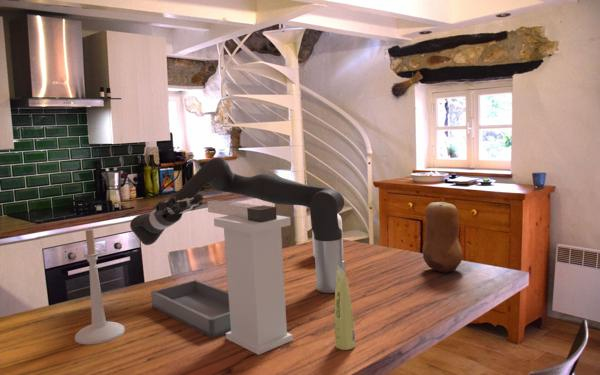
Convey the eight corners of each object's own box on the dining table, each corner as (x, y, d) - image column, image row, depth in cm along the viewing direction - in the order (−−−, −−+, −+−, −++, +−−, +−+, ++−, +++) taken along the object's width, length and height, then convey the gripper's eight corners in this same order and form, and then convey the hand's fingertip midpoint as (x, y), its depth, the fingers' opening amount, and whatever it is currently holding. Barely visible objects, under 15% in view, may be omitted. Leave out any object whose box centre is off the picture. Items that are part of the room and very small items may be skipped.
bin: (152, 307, 158) (151, 291, 158) (197, 294, 169) (195, 279, 168) (211, 338, 132) (210, 320, 131) (260, 320, 143) (259, 303, 142)
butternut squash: (466, 268, 182) (466, 200, 179) (456, 278, 171) (455, 206, 168) (429, 264, 190) (428, 198, 187) (417, 273, 178) (415, 204, 175)
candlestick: (112, 321, 148) (102, 221, 144) (132, 332, 138) (122, 226, 135) (67, 335, 139) (55, 229, 135) (86, 348, 130) (73, 235, 126)
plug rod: (205, 212, 138) (204, 201, 137) (220, 209, 141) (219, 199, 141) (260, 222, 119) (259, 210, 119) (276, 219, 122) (276, 207, 122)
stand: (222, 338, 132) (213, 218, 128) (258, 324, 140) (251, 211, 136) (259, 356, 120) (250, 225, 116) (296, 340, 128) (290, 217, 124)
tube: (329, 346, 123) (325, 269, 121) (341, 339, 127) (337, 264, 125) (348, 352, 120) (344, 273, 117) (359, 345, 124) (356, 268, 121)
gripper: (141, 206, 154) (163, 188, 143) (182, 200, 164) (206, 183, 152) (147, 229, 153) (170, 213, 141) (188, 222, 163) (212, 207, 151)
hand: (188, 198), depth 147 cm, fingers open, 8 cm apart
